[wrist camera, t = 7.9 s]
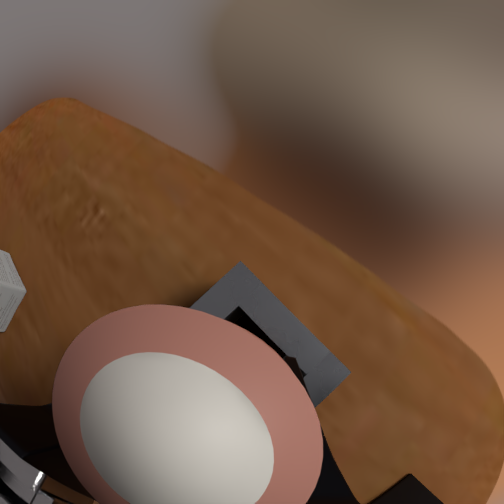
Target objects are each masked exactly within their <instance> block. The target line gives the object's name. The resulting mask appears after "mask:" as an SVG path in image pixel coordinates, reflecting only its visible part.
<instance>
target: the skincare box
mask: <svg viewBox="0 0 504 504" xmlns="http://www.w3.org/2000/svg"><path fill="white" fill-rule="evenodd" d="M25 294H26V289H25V287H24V285H23V283H22V281H21V279H20V277H19V275H18V272H17V270H16V268H15V266H14V264H13V261H12V259H11V257H10V254H9V253H7V252H5V251H2V250H0V332H4V331H5V330H6V328H7V326H8V325H9V323H10V321H11V319H12V317H13V315H14V313H15V311H16V309H17V308H18V306H19V304H20V302H21V301H22V299H23V297H24V295H25Z"/></svg>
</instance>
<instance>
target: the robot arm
mask: <svg viewBox="0 0 504 504" xmlns="http://www.w3.org/2000/svg"><path fill="white" fill-rule="evenodd" d="M283 360H284V361H285V362H286V363H287V365H288V366H289V367H290V369H291V370H292V371H293V373H294V374H295V376H296V377H297V378H298V380H299V381H300V383H301V384H302V385H303V387H304V388H305V390H306V392H307V394H308V396H309V398H310V395H309V392H308V389H307V387H306V384H305V381H304V379H303V376H302V373H301V371H300V368H299V365H298V362H297V360H296V358H295V357H290V356H284V358H283ZM310 400H311V398H310ZM311 401H312V400H311ZM320 427H321V425H320ZM321 433H322V438H323V460H322V466H321V472H320V476H319V478H318V481H317V484H316V487H315V489H314V491H313V492H312V494H311V496H310V498H309V499H308V501H307V502H306V504H360V503H359V502H358V501H357V500H356V498H355V497H354V495H353V493H352V492H351V490H350V488H349V486H348V485H347V483H346V481H345V479H344V477H343V475H342V474H341V472H340V470H339V468H338V466H337V464H336V462H335V460H334V458H333V456H332V453H331V451H330V449H329V446H328V444H327V441H326V438H325V436H323V435H324V433H323V430H322V428H321ZM94 500H95V499H94V498H93V497H92V496H91V494H90V493H89V492H88V491H87V490H86V489H85V488H84V487H83V485H82V484H81V483H80V481H79V480H78V478H77V477H76V476H75V474H74V473H73V471H72V469H71V467H70V466H69V464H68V462H67V460H66V458H65V456H64V454H63V452H62V449H61V447H60V444H59V441H58V438H57V434H56V431H55V426H54V420H53V411H52V403H50V404H47V405H43V406H27V405H14V404H4V403H0V504H93V502H94ZM95 501H96V500H95Z"/></svg>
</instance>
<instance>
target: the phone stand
mask: <svg viewBox="0 0 504 504" xmlns="http://www.w3.org/2000/svg"><path fill="white" fill-rule="evenodd" d="M371 504H443V503H442V502H441V501H440V500H439V499H438V498H437V497H436V496H435V495H433V494H432V493H431V492H430V491H429V490H428V489H427V488H426V487H425V486H424V485H423V484H422V483H421V482H420V481H418V480H417V479H416V478H415V477H414V476H413V475H412V474H410V475H408V476H407V477H406V478H405V479H403V480H402V481H401V482H400V483H398V484H397V485H396V486H395V487H393V488H392V489H391V490H389V491H388V492H387V493H385V494H384V495H382V496H381V497H380V498H378V499H377V500H375V501H374V502H372V503H371Z"/></svg>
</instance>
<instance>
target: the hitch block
mask: <svg viewBox="0 0 504 504" xmlns="http://www.w3.org/2000/svg"><path fill="white" fill-rule="evenodd" d="M190 309H194V310H198V311H202V312H205V313H208V314H210V315H213V316H216V317H219V318H221V319H224V320H226V321H229V322H232V323H235V322H236V321H237V320H238V319H239V318H240V317H242V316H243V315H244V314H245V313H246V314H247V315H248V316H249V317H250V318H251V319H252V320H253V321H254V322H255V323H256V324H257V325H258V326H259V327H260V328H261V329H262V330H263V331H264V332H265V333H266V334H267V335H268V336H269V337H270V339H271V340H272V341H273V342H274V343H275V344H276V345H277V346H278V347H279V348H280V349H281V350H282V351H283V352H284V353H285V354H286V355H287V356H290V357H295V358H296V360H297V362H298V365H299V368H300V371H301V373H302V376H303V379H304V381H305V384H306V387H307V389H308V392H309V395H310V398H311V400H312V403H313V405H314V408H315V407H316V406H317V405H318V404H319V403H321V402H322V401H323V400H324V399H325V398H326V397H327V396H328V395H329V394H330V393H331V392H332V391H333V390H334V389H335V388H336V387H337V386H338V385H339V384H340V383H341V382H342V381H343V380H344V379H345V378H346V377H347V376H348V375H349V374H350V373H351V372H350V371H349V370H348V369H347V368H346V367H345V366H344V365H343V364H342V363H341V362H340V361H339V360H338V359H337V358H336V357H335V356H334V355H333V354H332V353H331V352H330V351H329V350H328V349H327V348H326V347H325V346H324V345H323V344H322V343H321V342H320V341H319V340H318V339H317V338H316V337H315V336H314V335H313V334H312V333H311V332H310V331H309V330H308V329H307V328H306V327H305V326H304V325H303V324H302V323H301V322H300V321H299V320H298V319H297V318H296V317H295V316H294V315H293V314H292V313H291V312H290V311H289V310H288V309H287V308H286V307H285V306H284V305H283V304H282V303H281V302H280V301H279V300H278V299H277V298H276V297H275V296H274V295H273V294H272V293H271V292H270V291H269V289H268V288H267V287H266V286H265V285H264V284H263V283H262V282H261V281H260V280H259V279H258V278H257V277H256V276H255V275H254V274H253V273H252V272H251V271H250V270H249V269H248V268H247V267H246V266H245V265H244V264H243V263H242V262H241V261H240V262H239V263H238V264H237V265H236V266H234V267H233V268H232V269H231V270H230V271H229V272H228V273H227V274H226V275H225V276H224V277H222V278H221V279H220V280H219V281H218V282H217V283H216V284H215V285H214V286H213V287H212V288H210V289H209V290H208V291H207V292H206V293H205V294H204V295H203V296H202V297H201V298H200V299H199V300H197V301H196V302H195V303H194V304H193V305H192V306H191V307H190Z"/></svg>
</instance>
